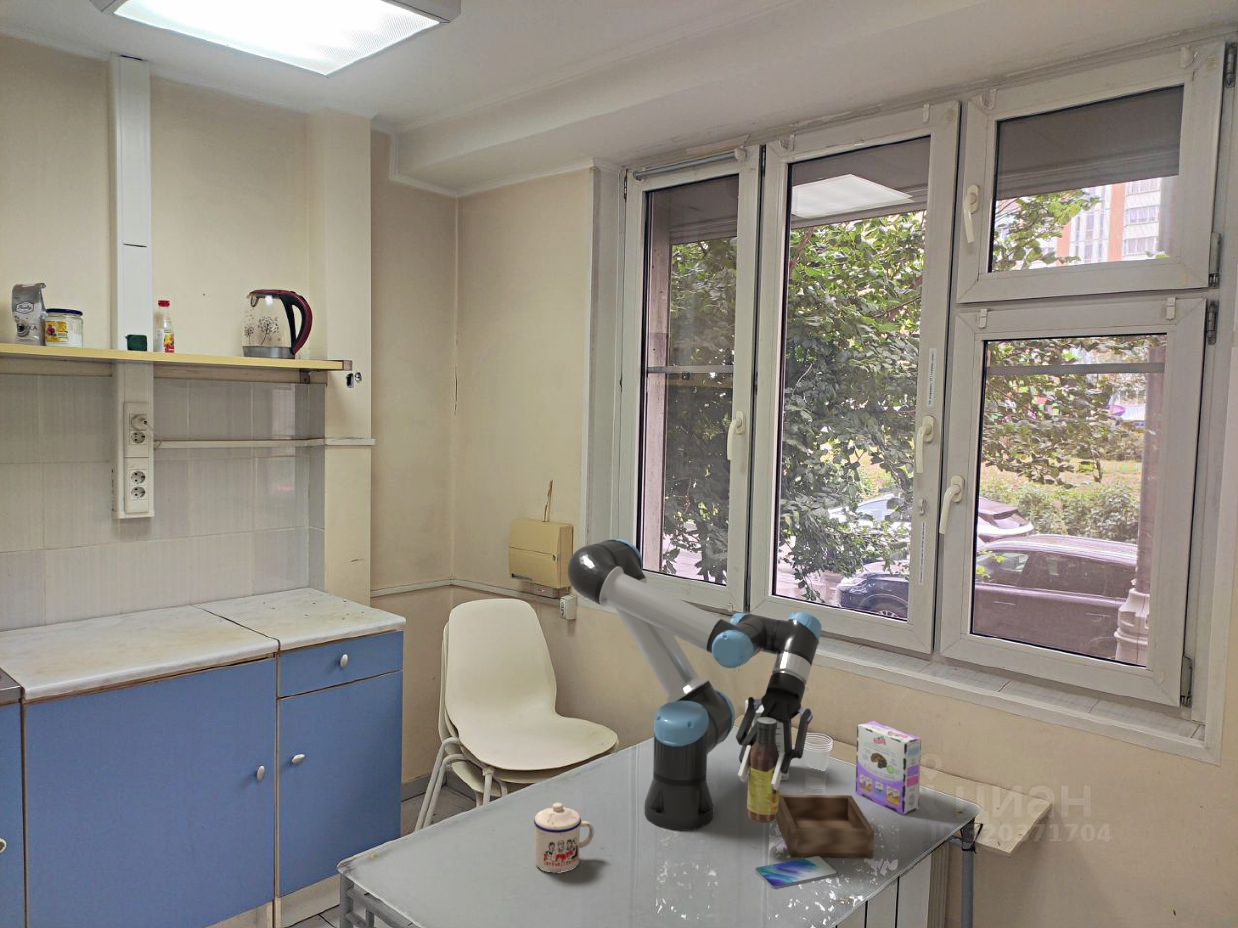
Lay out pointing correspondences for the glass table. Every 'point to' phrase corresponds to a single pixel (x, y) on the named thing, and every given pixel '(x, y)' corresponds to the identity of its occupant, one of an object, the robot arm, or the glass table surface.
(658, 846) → the glass table surface
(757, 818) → the sauce bottle
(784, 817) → the walled box
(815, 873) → the smartphone
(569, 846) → the teacup with lid
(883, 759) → the candy box
